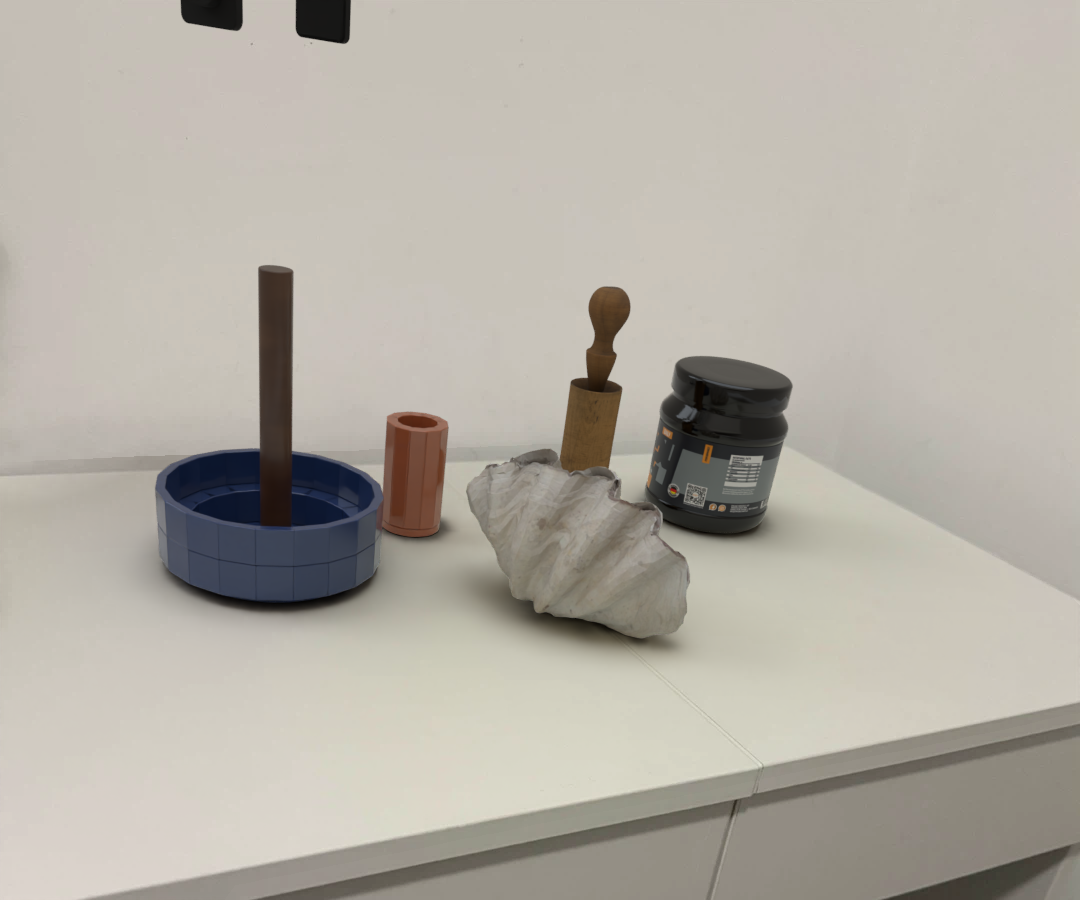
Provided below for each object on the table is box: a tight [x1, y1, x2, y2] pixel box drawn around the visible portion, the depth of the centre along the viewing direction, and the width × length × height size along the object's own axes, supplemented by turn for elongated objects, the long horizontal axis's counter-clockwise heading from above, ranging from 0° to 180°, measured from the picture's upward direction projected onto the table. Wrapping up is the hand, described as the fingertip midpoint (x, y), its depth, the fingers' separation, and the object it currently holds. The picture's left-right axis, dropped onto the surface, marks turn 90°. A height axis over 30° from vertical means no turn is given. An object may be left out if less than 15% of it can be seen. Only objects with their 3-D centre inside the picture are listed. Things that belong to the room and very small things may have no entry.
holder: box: [382, 411, 450, 538], centre depth 78 cm, size 4×4×8 cm
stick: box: [257, 264, 295, 527], centre depth 66 cm, size 2×2×18 cm
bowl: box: [154, 447, 384, 604], centre depth 70 cm, size 14×14×6 cm
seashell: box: [465, 448, 691, 639], centre depth 69 cm, size 10×15×10 cm
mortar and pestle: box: [559, 285, 631, 473], centre depth 80 cm, size 7×6×18 cm
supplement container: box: [644, 355, 794, 535], centre depth 88 cm, size 10×10×12 cm
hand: (271, 34), depth 55 cm, fingers open, 9 cm apart
